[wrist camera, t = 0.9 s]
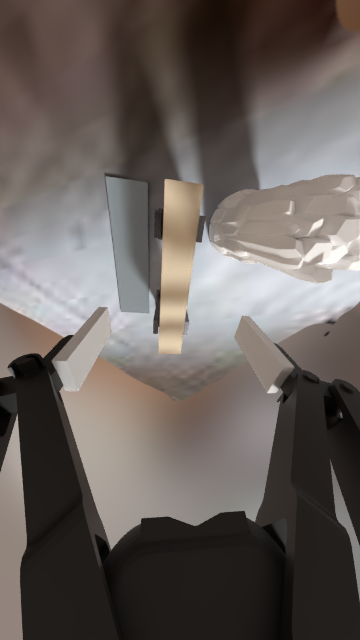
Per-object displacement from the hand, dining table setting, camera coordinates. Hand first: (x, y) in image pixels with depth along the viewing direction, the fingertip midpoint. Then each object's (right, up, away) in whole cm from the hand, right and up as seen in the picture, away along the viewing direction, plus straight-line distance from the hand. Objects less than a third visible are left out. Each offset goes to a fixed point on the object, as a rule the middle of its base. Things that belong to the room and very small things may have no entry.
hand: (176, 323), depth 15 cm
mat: (-10, +14, +18) cm, 25 cm away
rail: (-1, +7, +11) cm, 13 cm away
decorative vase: (+12, +19, +16) cm, 28 cm away
